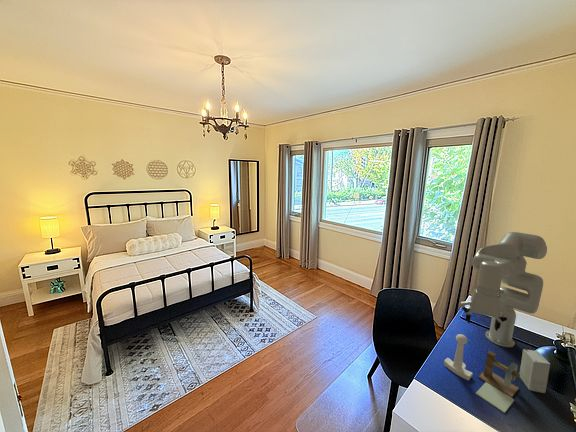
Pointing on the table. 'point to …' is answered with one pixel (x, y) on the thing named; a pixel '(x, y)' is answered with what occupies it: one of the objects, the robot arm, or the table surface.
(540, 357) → the skincare box
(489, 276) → the robot arm
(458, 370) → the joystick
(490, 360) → the stand
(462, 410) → the table surface
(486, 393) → the mat
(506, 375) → the grey u-shaped block
